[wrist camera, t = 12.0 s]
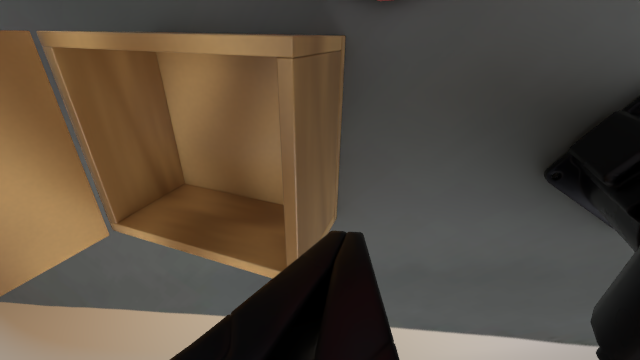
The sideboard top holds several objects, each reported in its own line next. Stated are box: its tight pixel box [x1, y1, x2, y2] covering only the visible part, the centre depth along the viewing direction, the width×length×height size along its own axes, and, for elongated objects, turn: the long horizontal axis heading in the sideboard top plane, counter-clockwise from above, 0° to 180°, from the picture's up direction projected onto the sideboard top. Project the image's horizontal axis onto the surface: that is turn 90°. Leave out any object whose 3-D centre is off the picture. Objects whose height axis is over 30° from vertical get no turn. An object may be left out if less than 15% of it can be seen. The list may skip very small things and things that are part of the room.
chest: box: [36, 31, 345, 278], centre depth 20 cm, size 16×14×8 cm
